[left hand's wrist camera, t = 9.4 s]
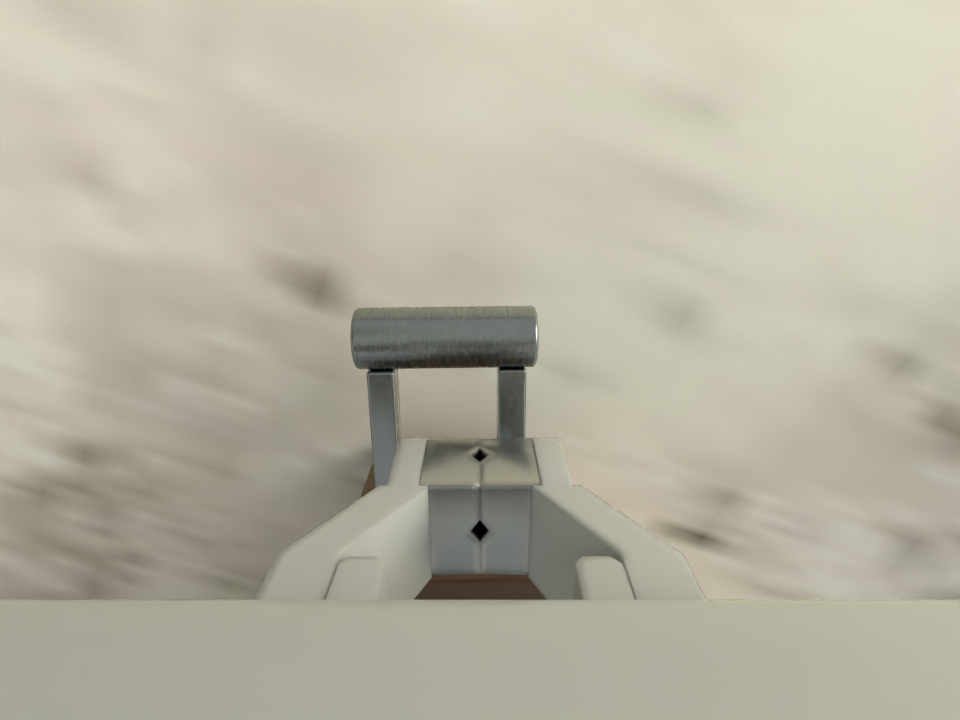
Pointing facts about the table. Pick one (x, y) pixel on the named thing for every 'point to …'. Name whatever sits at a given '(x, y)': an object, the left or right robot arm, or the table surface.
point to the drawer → (446, 344)
